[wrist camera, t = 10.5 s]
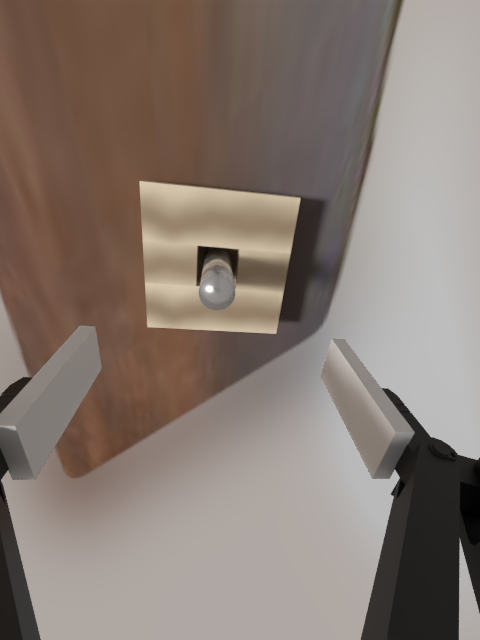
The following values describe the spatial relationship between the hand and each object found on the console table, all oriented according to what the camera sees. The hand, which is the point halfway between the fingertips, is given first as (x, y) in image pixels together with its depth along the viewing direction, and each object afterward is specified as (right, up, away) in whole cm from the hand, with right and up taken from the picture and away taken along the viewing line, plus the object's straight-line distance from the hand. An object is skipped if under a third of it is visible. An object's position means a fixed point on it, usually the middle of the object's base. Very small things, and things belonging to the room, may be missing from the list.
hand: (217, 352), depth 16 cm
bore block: (-1, +9, +19) cm, 21 cm away
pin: (-1, +9, +18) cm, 21 cm away
